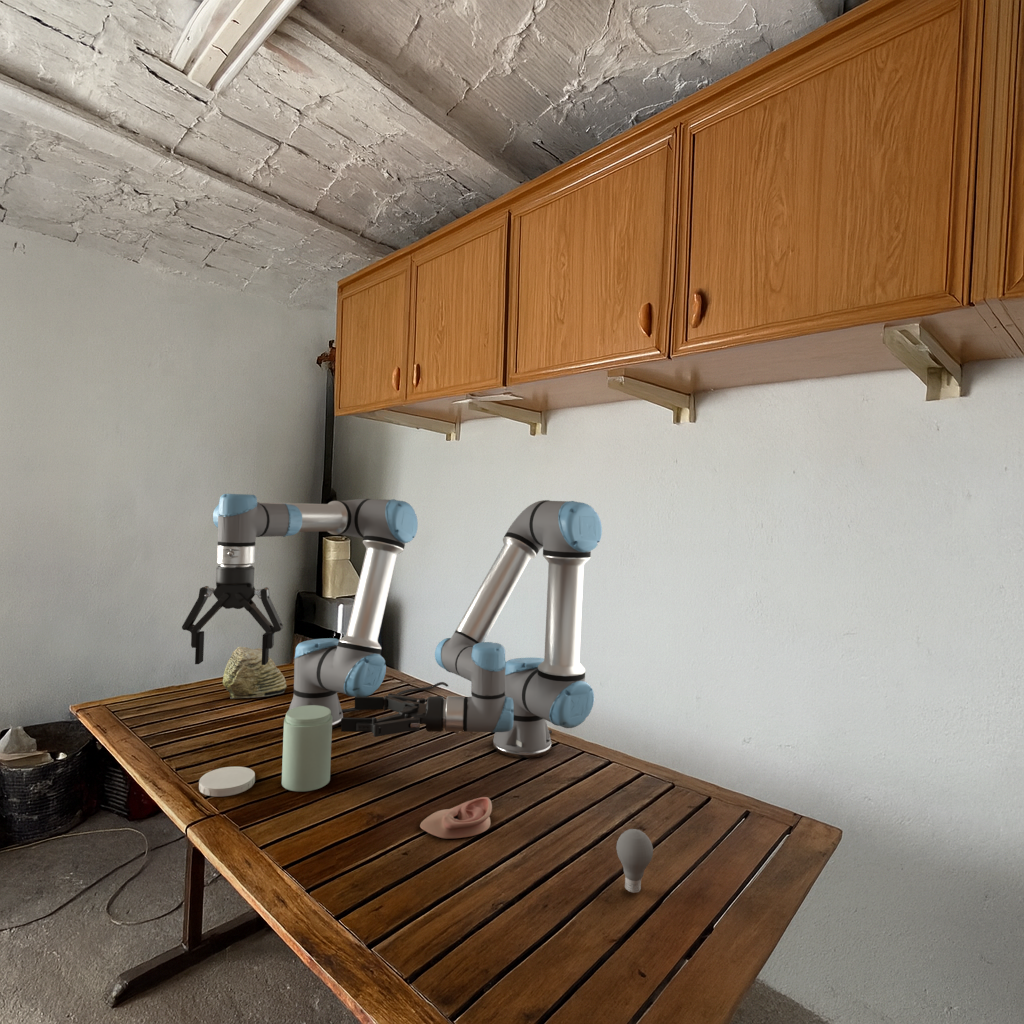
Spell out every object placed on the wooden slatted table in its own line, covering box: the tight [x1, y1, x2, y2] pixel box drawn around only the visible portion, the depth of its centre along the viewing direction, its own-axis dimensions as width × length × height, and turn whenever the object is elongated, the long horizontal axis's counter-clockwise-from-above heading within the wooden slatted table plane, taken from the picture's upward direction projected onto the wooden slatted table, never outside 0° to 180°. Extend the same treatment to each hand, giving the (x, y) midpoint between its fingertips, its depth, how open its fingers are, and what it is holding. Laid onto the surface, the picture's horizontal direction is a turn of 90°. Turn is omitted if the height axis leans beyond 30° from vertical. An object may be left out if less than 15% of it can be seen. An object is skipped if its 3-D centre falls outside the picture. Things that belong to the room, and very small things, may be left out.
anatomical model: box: [419, 796, 493, 840], centre depth 124 cm, size 13×4×12 cm
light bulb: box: [615, 828, 654, 894], centre depth 106 cm, size 6×6×10 cm
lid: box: [198, 766, 256, 798], centre depth 137 cm, size 11×11×2 cm
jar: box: [281, 705, 333, 792], centre depth 141 cm, size 10×10×15 cm
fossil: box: [222, 646, 288, 699], centre depth 198 cm, size 9×18×15 cm, turn 132°
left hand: (232, 663), depth 137 cm, fingers open, 13 cm apart
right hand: (348, 713), depth 141 cm, fingers open, 13 cm apart
